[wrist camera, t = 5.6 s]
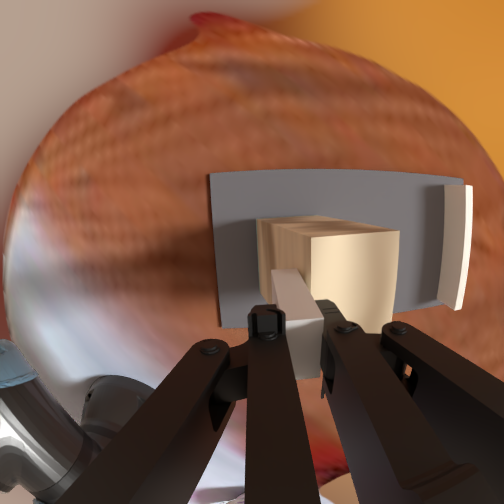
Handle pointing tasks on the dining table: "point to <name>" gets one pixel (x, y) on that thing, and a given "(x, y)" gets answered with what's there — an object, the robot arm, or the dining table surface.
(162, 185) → the dining table surface
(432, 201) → the gray ramp
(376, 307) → the beech block
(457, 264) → the stop rail
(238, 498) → the paper bowls
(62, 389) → the dining table surface
